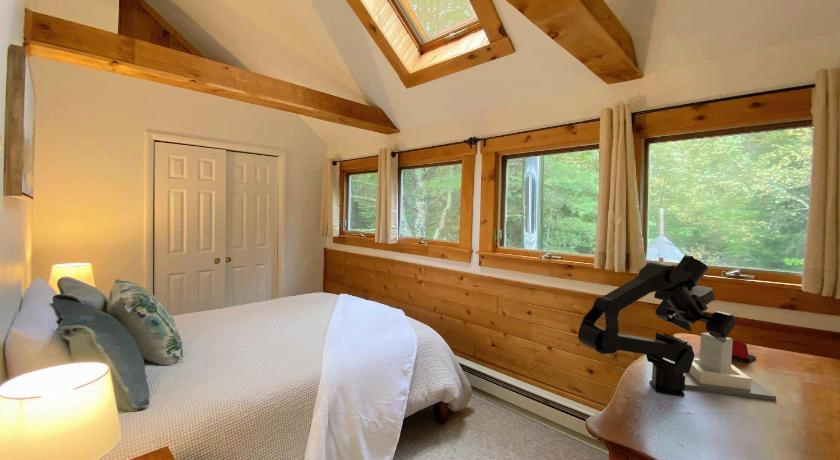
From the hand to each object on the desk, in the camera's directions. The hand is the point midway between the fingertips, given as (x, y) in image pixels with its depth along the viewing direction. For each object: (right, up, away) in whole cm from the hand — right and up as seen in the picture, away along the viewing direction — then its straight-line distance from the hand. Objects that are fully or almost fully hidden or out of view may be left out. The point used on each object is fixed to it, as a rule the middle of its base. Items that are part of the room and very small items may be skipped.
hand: (706, 335), depth 102 cm
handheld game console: (+24, -13, +22) cm, 35 cm away
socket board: (+4, -14, +2) cm, 14 cm away
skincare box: (+4, -13, +2) cm, 13 cm away
